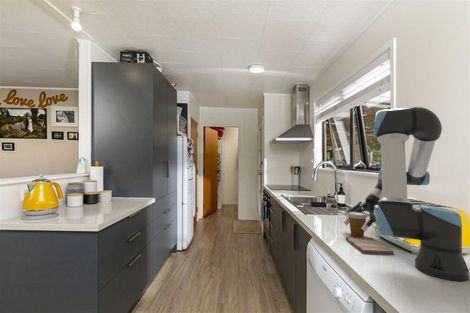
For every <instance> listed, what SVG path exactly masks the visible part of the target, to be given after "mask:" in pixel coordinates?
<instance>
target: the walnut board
mask: <svg viewBox="0 0 470 313" xmlns="http://www.w3.org/2000/svg"><path fill="white" fill-rule="evenodd" d="M345 240H346V241H347V242H348V243H349V244H351V245H352V246H353V247H355V248H356V250H358V251H360V252H361V253H362V254H372V255H395V250H393V249H392V248H389V247H388V246H387V245H385V244H383V243H381V242H380V241H378V240H377V239H375V238H373V237H369V236H368V237H367V236H366V237H365V236H363V237H356V236H345Z"/></svg>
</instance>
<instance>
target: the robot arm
mask: <svg viewBox="0 0 470 313" xmlns="http://www.w3.org/2000/svg"><path fill="white" fill-rule="evenodd" d="M374 119H375V121H374V126H373V133H372V136H374V137H376V140H377V142H378V143H379V144H380V151H381V153H380V154H381V155H380V156H381V159H380V160H381V167H380V169H379V170H378V176H377V178H378V179H377V182H376V183H377V184H376V185H375V186H374V187H373V189H372V190H371V191H370V193H369V194H368V195H367V196H366V198H365V201H364V202H362V201H358V203H357V204H356V205H354V206H353V207H351V208H350V209H348V210H347V214H348V213H349V212H361V213H365V212H368V214H369V215H368V216H369V217H368V219H366V222H365V224H364V225H363V226H362V227H361V229H362V230H363V231H364V233H366V232H367V230H368V229H369V228H370V227H372V225H373V224H374V223H376V229H377V231H378V233H379V234H381V235H383V236H386V237H387V236H388V237H391V238H401V239H409V240H415V241H419V242H420V245H419V249H418V251H417V254H416V257H415V258H414V267H415V268H416V269H417V270H419V271H421V272H422V273H424V274H426V275H429V276H432V277H435V278H437V279H438V278H439V279H442V280H443V279H444V280H448V281H456V282H465V281H468V280H470V270H469V268H468V266H467V263H466V260H465V258H464V256H463V240H462V239H463V235H462V234H463V224H462V216H461V214H460V213H458V212H456V211H454V210H451V209H447V208H443V207H439V206H433V205H427V204H426V205H425V204H420V206H419V208H414V205H413V202H412V201H411V200H410V199H409V198H408V186H418V187H419V186H428V185H429V184H430V182H431V181H430V180H431V176H430V175H431V174H430V172H429V171H427V170H428V167H429V163H430V160H431V157H432V154H433V150H434V147H435V145H436V141H437V140H439V138H440V137H441V134H442V132H443V131H442V130H443V127H442V122H441V120H440V118H439V117H438V115H437V114H436V113H435V112H433V111H432V110H431V109H428V108H425V107H423V106H414V107H404V108H403V107H401V108H391V109H390V108H387V109H381V110H378V111H377V112H376V113H375V118H374ZM410 136H413V143H412V147H411V148H412V149H411V153H410V157H409V161H408V165H407V162H406V161H407V159H406V142H407V141H408V140H409V139H410ZM343 224H344V225H345V226H348V225H350V223H349V217H348V215H347V216H346V218H345V219H344V221H343Z"/></svg>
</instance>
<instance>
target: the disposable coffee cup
mask: <svg viewBox="0 0 470 313" xmlns="http://www.w3.org/2000/svg"><path fill="white" fill-rule="evenodd" d="M347 216H348V217H349V229H350V235H351V236H352V237H365V232H364V231H363V230H362V229H361V227H362V226H363V225H364V224H365V222H366V221H367V218H368V216H367V214H366V213H365V212H349V213H348V212H347Z"/></svg>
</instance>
